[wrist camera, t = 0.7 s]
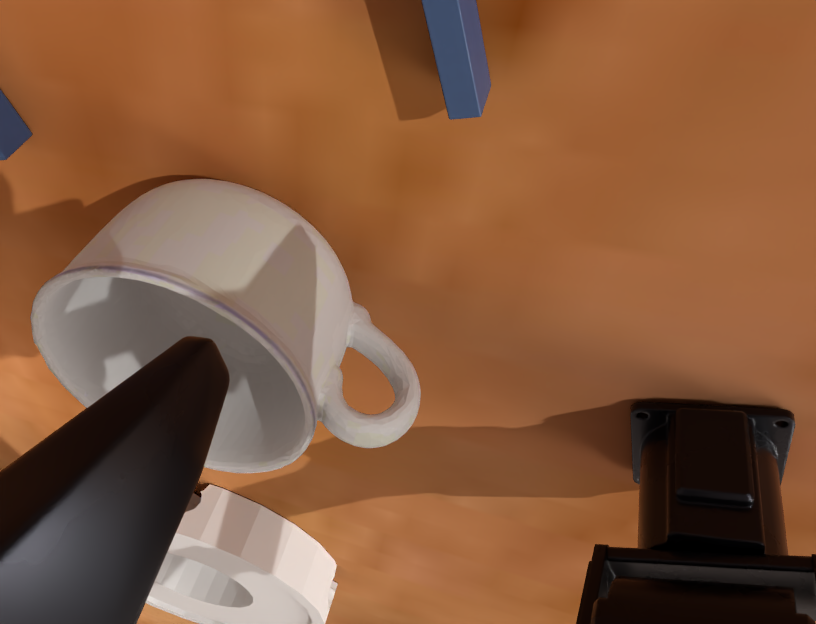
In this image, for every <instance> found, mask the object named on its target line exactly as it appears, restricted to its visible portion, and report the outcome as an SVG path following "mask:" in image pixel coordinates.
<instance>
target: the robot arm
mask: <svg viewBox="0 0 816 624" xmlns="http://www.w3.org/2000/svg"><path fill="white" fill-rule="evenodd" d="M229 383H230V375H229V371H228V368H227V366H226V364H225V362H224V360H223V358H222V356H221V354H220V351H219V349H218V347H217V345H216V343H215V342H214V341H213V340H212V339H210V338H204V337H197V336H186V337H184V338H182V339H180V340H179V341H178V342H176V343H175V344H173V345H172V346H171V347H169V348H168V349H167V350H165V351H164V352H163V353H161V354H160V355H158V356H157V357H156V358H154V359H153V360H152V361H150V362H149V363H148V364H146V365H145V366H143V367H142V368H141V369H139V370H138V371H137V372H135V373H134V374H133V375H131V376H130V377H128V378H127V379H126V380H124V381H123V382H122V383H120V384H119V385H118V386H116V387H115V388H114V389H112V390H111V391H109V392H108V393H107V394H105V395H104V396H103V397H101V398H100V399H99V400H97V401H96V402H94V403H93V404H92V405H90V406H89V407H88V408H86V409H85V410H84V411H82V412H81V413H79V414H78V415H77V416H75V417H74V418H73V419H71V420H70V421H69V422H67V423H66V424H64V425H63V426H62V427H60V428H59V429H58V430H56V431H55V432H54V433H52V434H51V435H49V436H48V437H47V438H45V439H44V440H43V441H41V442H40V443H39V444H37V445H36V446H34V447H33V448H32V449H30V450H29V451H28V452H26V453H25V454H24V455H22V456H21V457H19V458H18V459H17V460H15V461H14V462H13V463H11V464H10V465H9V466H7V467H6V468H5V469H3V470H2V471H0V624H136V623H137V621H138V618H139V616H140V614H141V612H142V609H143V607H144V605H145V602H146V600H147V598H148V596H149V593H150V591H151V589H152V586H153V584H154V582H155V579H156V577H157V575H158V573H159V570H160V568H161V566H162V563H163V561H164V559H165V557H166V554H167V552H168V550H169V547H170V545H171V543H172V541H173V538H174V536H175V534H176V531H177V529H178V527H179V525H180V522H181V520H182V518H183V515H184V513H185V511H186V509H187V506H188V504H189V502H190V499H191V497H192V495H193V492H194V490H195V488H196V485H197V483H198V480H199V478H200V476H201V473H202V470H203V467H204V464H205V461H206V458H207V455H208V452H209V449H210V446H211V442H212V439H213V436H214V433H215V430H216V426H217V423H218V420H219V417H220V414H221V410H222V407H223V404H224V401H225V398H226V394H227V391H228V388H229ZM794 428H795V420H794V414H793V413H792V412H790V411H788V410H784V409H768V408H749V407H730V406H711V405H692V404H673V403H654V402H637V403H634V404H633V405H632V406H631V437H632V461H633V480H634V481H635V482H636V483H638V484H640V492H639V522H638V548H620V547H609V545H602V544H595V547H594V552H593V556H592V561H589V564H588V569H587V574H586V579H585V584H584V588H583V593H582V598H581V603H580V608H579V612H578V617H577V622H576V624H815V621H816V554H812V557H810V556H789V555H788V549H787V540H786V531H785V523H784V514H783V505H782V497H781V488H780V485H781V481H782V477H783V473H784V469H785V465H786V461H787V457H788V452H789V448H790V444H791V440H792V436H793V432H794Z"/></svg>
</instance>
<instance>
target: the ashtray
mask: <svg viewBox="0 0 816 624" xmlns="http://www.w3.org/2000/svg"><path fill="white" fill-rule="evenodd" d="M200 492H201V494H202V496H201V498H200V497H199V496H197V495H196V494H194V493H193V495H192V497H191V499H190V502H189V504H188V506H187V509H186V511H185V513H184V515H183V518H182V520H181V522H180V525H179V527H178V529H177V531H176V534H175V536H174V538H173V541H172V543H171V545H170V547H169V550H168V552H167V554H166V557H165V559H164V561H163V563H162V566H161V568H160V570H159V573H158V575H157V577H156V579H155V582H154V584H153V586H152V589H151V591H150V593H149V596H148V598H147V600H146V602H145V603H147V604H149V605H151V606H154V607H156V608H159V609H161V610H164V611H166V612H169V613H171V614H174V615H176V616H179V617H181V618H184V619H187V620H190V621H193V622H196V623H199V624H325V622H326V619H327V616H328V613H329V610H330V606H331V603H332V600H333V597H334V594H335V591H336V587H337V583H336V582H334V581H333V578H334V577H335V571H336V567H337V565H336V563H335V560H334V559H333V558H332V557H331V556H330V555H329V554H328V552H327V551H326V550H325V549H324V548H323V547H322V546H321V544H320V543H319V542H317V541H316V540H315V539H313V538H312V537H311V536H309V535H308V534H307V533H305V532H304V531H303V530H302V529H300V528H299V527H298V526H296V525H295V524H293V523H292V522H290V521H288V520H286V519H285V518H283V517H281V516H279V515H278V514H276V513H274V512H272V511H271V510H269V509H267V508H265V507H264V506H262V505H260V504H258V503H255V502H253V501H251V500H248V499H246V498H244V497H242V496H239V495H237V494H235V493H232V492H230V491H228V490H226V489H223V488H220V487H217V486H214V485H211V484H209V485H208V486H207V487H206V488H205V489H204V490H203V491H200Z"/></svg>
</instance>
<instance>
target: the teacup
mask: <svg viewBox="0 0 816 624" xmlns="http://www.w3.org/2000/svg"><path fill="white" fill-rule="evenodd" d="M30 318H31V324H32V334H33V340H34V343H35V344H36V345H37V347H38V349H39V351H40V353H41V355H42V356H43V358H44V360H45V362H46V364H47V366H48V368H49V369H50V370H51V372H52V373H53V374H54V375H55V376H56V377H57V379H58V380H59V381H60V383H61V384H62V385H63V386H64V387H65V388H66V389H67V390H68V391H69V392H70V393H71V394H72V395H73V396H74V397H75V398H77V399H78V400H79V401H80V402H81V403H82V404H83V405H84V406H85V407H86V408H88V407H89V406H90V405H92V404H93V403H94V402H96V401H97V400H99V399H100V398H101V397H103V396H104V395H105V394H107V393H108V392H109V391H111V390H112V389H114V388H115V387H116V386H118V385H119V384H120V383H122V382H123V381H124V380H126V379H127V378H128V377H130V376H131V375H133V374H134V373H135V372H137V371H138V370H139V369H141V368H142V367H143V366H145V365H146V364H148V363H149V362H150V361H152V360H153V359H154V358H156V357H157V356H158V355H160V354H161V353H163V352H164V351H165V350H167V349H168V348H169V347H171V346H172V345H173V344H175V343H176V342H178V341H179V340H180V339H182V338H184V337H186V336H197V337H204V338H210V339H212V340H213V341H214V342H215V343H216V345H217V347H218V349H219V351H220V354H221V356H222V358H223V360H224V362H225V364H226V366H227V368H228V371H229V375H230V383H229V388H228V391H227V394H226V398H225V401H224V404H223V407H222V410H221V414H220V417H219V420H218V423H217V426H216V430H215V433H214V436H213V439H212V442H211V446H210V449H209V452H208V455H207V458H206V461H205V464H204V467H206V468H210V469H214V470H219V471H225V472H234V473H258V472H267V471H272V470H276V469H280V468H282V467H283V466H286V465H289V464H291V463H292V462H294V461H295V460H296V459H297V458H298V457H300V456H301V455H302V454H303V452H304V451H305V450H306V449H307V447H308V445H309V443H310V442H311V440H312V438H313V435H314V432H315V428H316V425H317V420H319V421H321V422H322V423H323V424H324V425H325V427H326V428H327V429H328V430H329V431H330V432H331V433H332V434H334V435H335V436H336V437H338V438H339V439H340V440H342V441H344V442H346V443H349V444H351V445H353V446H357V447H363V448H376V447H382V446H386V445H388V444H390V443H392V442H394V441H396V440H398V439H399V438H400V437H401V436H403V435H404V434H405V433H406V432H407V431H408V429H409V428H410V427H411V425H412V424H413V422H414V420H415V418H416V416H417V413H418V409H419V406H420V396H421V392H420V384H419V379H418V376H417V373H416V371H415V369H414V367H413V365H412V363H411V362H410V360H409V359H408V357H407V356H406V355H405V353H404V352H403V351H402V350H401V349H400V348H399V347H398V346H397V345H396V344H395V343H394V342H393V341H392V340H391V339H390V338H389V337H387V336H386V335H385V334H384V333H383V332H381V331H380V330H379V329H378V328H377V327H376V326H374V325H373V324H372V322H371V319H370V314H369V313H368V311H367V310H366V308H364V307H363V306H362V305H360V304H357V303H354V302H353V300H352V296H351V291H350V287H349V283H348V279H347V276H346V274H345V271H344V269H343V267H342V265H341V263H340V261H339V259H338V257H337V255H336V254H335V252H334V251H333V249H332V248H331V247H330V245H329V244H328V242H327V241H326V240H325V238H324V237H323V236H322V235H321V234H320V233H319V232H318V231H317V230H316V229H315V228H314V227H313V226H312V225H311V224H310V223H309V222H308V221H307V220H305V219H304V218H303V217H302V216H301V215H300V214H298V213H297V212H295V211H294V210H292V209H291V208H289V207H288V206H287V205H285V204H283V203H282V202H280V201H278V200H276V199H275V198H273V197H271V196H269V195H267V194H265V193H263V192H260V191H258V190H255V189H252V188H250V187H247V186H243V185H240V184H236V183H232V182H228V181H221V180H214V179H189V180H181V181H175V182H171V183H167V184H164V185H162V186H159V187H157V188H154V189H152V190H150V191H148V192H147V193H145V194H143V195H141V196H140V197H138V198H137V199H136V200H134V201H133V202H131V203H130V204H129V205H127V206H126V207H125V208H124V209H123V210H122V211H120V212H119V213H118V214H117V215H116V216H115V217H114V218H113V219H112V220H111V221H110V222H109V223H108V224H107V225H106V226H105V227H104V228H103V229H102V230H101V231H100V232H99V233H98V234H97V235H96V236H95V237H94V238H93V239H92V240H91V241H90V242H89V243H88V244H87V245H86V246H85V248H84V249H83V250H82V251H81V252H80V253H79V254H78V255H77V256H76V257H75V258H74V259H73V260H72V262H71V263H70V264H69V265H68V266H67V267H66V268H65V269H64V270H63V272H61V273H59V274H57V275H56V276H54V277H53V278H51V279H50V280H48V281H47V282H46V283H45V284H44V285H43V286H42V287H41V289H40V290H39V291H38V293H37V295H36V297H35V299H34V301H33V306H32V312H31V317H30ZM346 347H352V348H354V349H355V350H357V351H358V352H360V353H361V354H363V355H364V356H365V357H367V358H368V359H369V360H371V361H372V362H373V363H374V364H375V365H376V366H377V367H378V368H379V369H380V370H381V371H382V372H383V373H384V375H385V376H386V377H387V378H388V380H389V382H390V384H391V386H392V387H393V390H394V392H395V401H394V403H393V404H392V406H391V407H390V408H389V409H387V410H385V411H384V412H382V413H380V414H373V415H369V414H364V413H361V412H358V411H356V410H355V409H353V408H351V407H350V406H348V404H347V403H346V401H345V399H344V398H343V392H342V383H343V374H342V371H341V369H340V368H339V367H340V364H341V362H342V359H343V356H344V353H345V350H346Z"/></svg>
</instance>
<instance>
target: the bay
mask: <svg viewBox="0 0 816 624" xmlns="http://www.w3.org/2000/svg"><path fill="white" fill-rule="evenodd" d="M421 1H422V5H423V9H424V14H425V18H426V22H427V26H428V31H429V35H430V39H431V44H432V48H433V52H434V56H435V61H436V65H437V69H438V74H439V78H440V82H441V86H442V91H443V95H444V99H445V104H446V108H447V112H448V116H449V119H462V118H473V117H481V115H482V112H483V109H484V106H485V103H486V100H487V97H488V93H489V90H490V87H491V82H490V76H489V71H488V65H487V59H486V54H485V48H484V43H483V37H482V32H481V26H480V20H479V15H478V9H477V4H476V0H421ZM31 136H32V133H31V131H30V130H29V128H28V127H27V126H26V124H25V123H24V121H23V120H22V119H21V117H20V116H19V114H18V113H17V112H16V110H15V109H14V108H13V106H12V105H11V103H10V102H9V101H8V99H7V98H6V96H5V95H4V94H3V92H2V91H1V89H0V160H6V159H7V158H8V157H10V156H11V155H12V154H13V153H14V152H15V151H16V150H17V149H18V148H19V147H20V146H21V145H22V144H23V143H24V142H25V141H27V140H28V139H29V138H30V137H31Z"/></svg>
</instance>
